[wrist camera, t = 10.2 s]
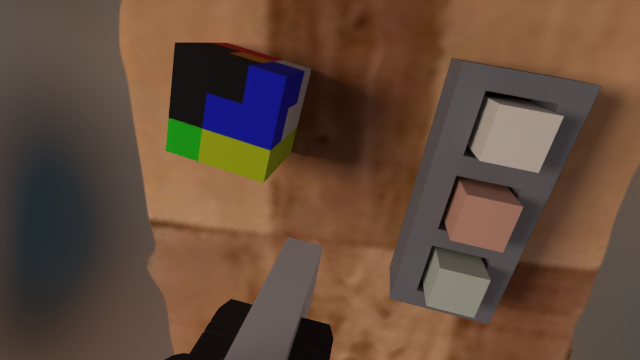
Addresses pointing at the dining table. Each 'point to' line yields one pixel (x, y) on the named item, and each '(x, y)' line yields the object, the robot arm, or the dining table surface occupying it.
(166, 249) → the dining table surface
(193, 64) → the puzzle toy
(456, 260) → the key sage
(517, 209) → the key terracotta
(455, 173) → the console
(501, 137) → the key ivory
